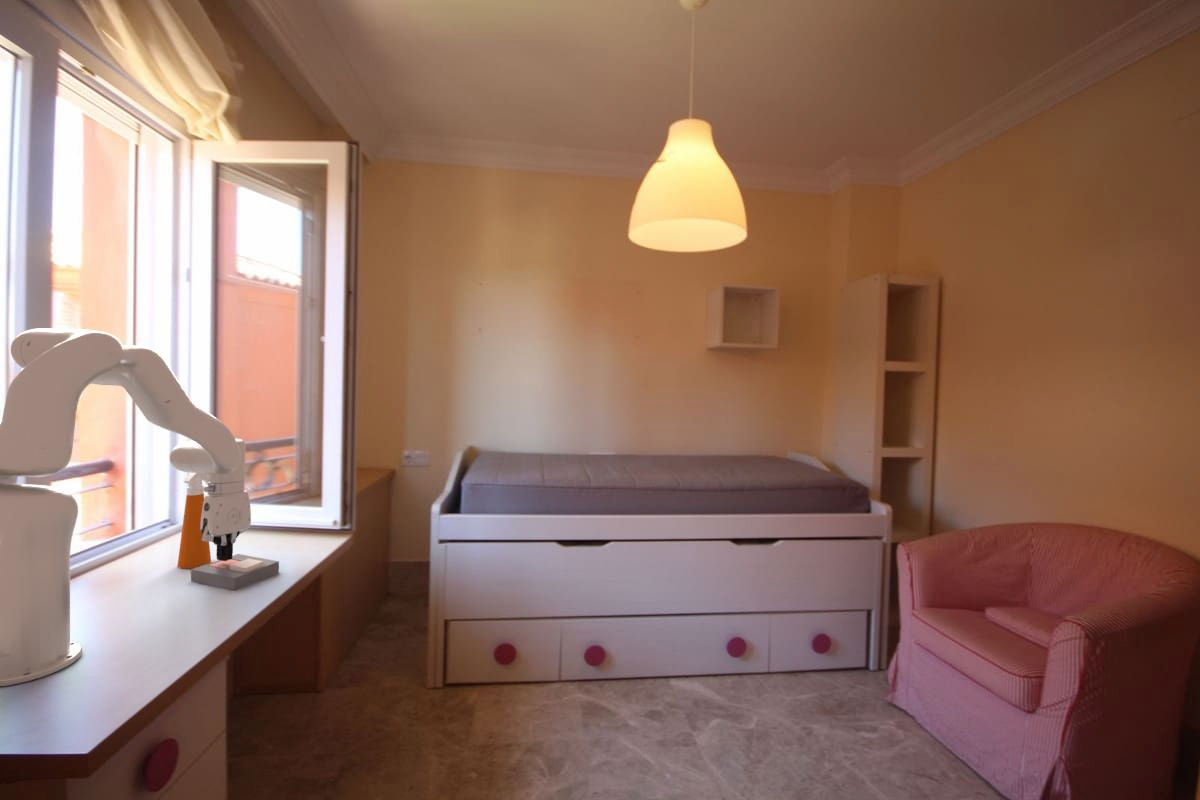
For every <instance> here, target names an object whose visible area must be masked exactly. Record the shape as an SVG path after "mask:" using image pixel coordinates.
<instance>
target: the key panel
mask: <svg viewBox="0 0 1200 800" xmlns="http://www.w3.org/2000/svg"><path fill="white" fill-rule="evenodd" d="M246 559H254V560H259V561H264V566H262V567H259V568H257V569H254V570H251V571H249V572H246V573H243V572H238V571H233V570H230V567H227V568H224V569H222V568H217V567H212V566H209V565H211V564H214V563H217V562H220V561H221V560H215V561H211V562H210V563H208V564H206V565H203V566H200V567H197V568H190V582H192V583H197V584H201V585H207V586H211V587H216V588H221V589H225V590H230V591H237V590H239V589H242V588H244V587H246V586H249V585H251V584H254V583H256V582H259V581H261V580H264V579H266V578H269V577H272V576H275V575H276V574H279V573H280V572H279V571H280V569H279V568H280V561H278V560H274V559H268V558H263V557H256V556H251V555H248V554H247V555H246V554H240V553H237V554H232V560H237V561H243V560H246Z"/></svg>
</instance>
